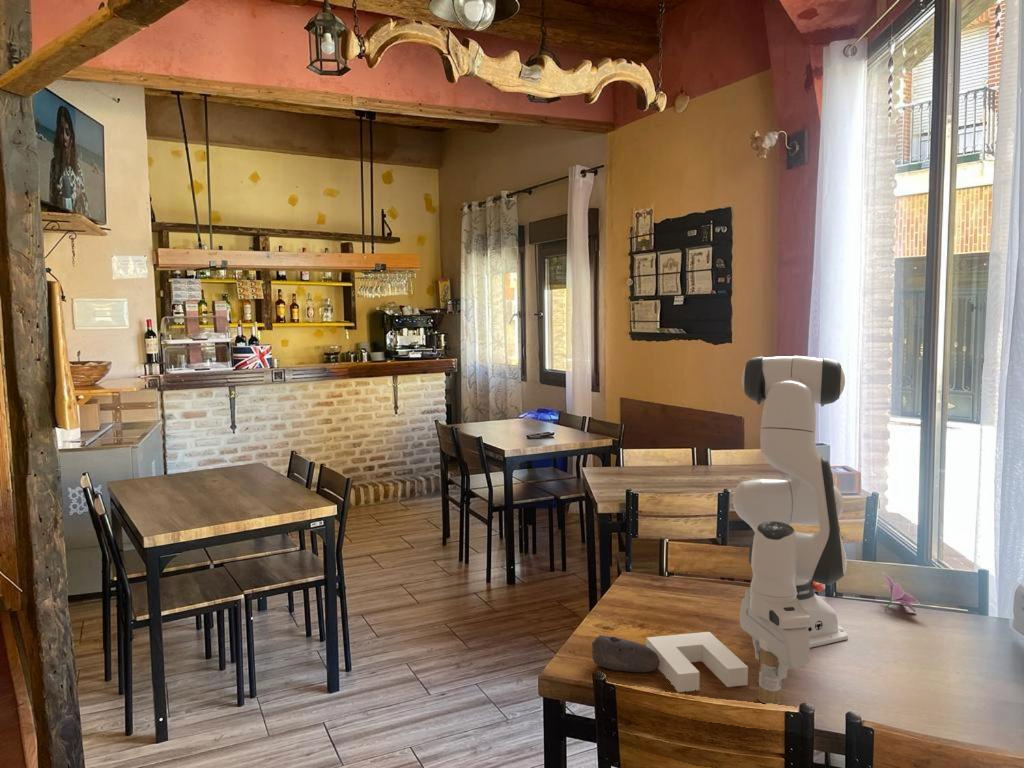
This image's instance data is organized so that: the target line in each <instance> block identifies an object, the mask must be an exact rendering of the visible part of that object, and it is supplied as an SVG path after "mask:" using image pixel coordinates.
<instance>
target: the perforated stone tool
mask: <svg viewBox="0 0 1024 768" xmlns="http://www.w3.org/2000/svg"><path fill="white" fill-rule="evenodd" d="M591 645H592V648H591V649H592V651H591V653H592V660H593V662H594V664H595V665H596V666H598V667H601V668H605V669H608V670H613V671H619V672H620V671H621V672H628V673H629V672H632V673H649V672H653V671H655V670H657V669H658V666H659V663H660V661H659V658H658V655H657V654H656V653H655V652H654V651H653V650H652V649H650V648H648V647H646V645H644V644H641V643H639V642H636V641H633V640H629V639H625V638H620V637H616V636H609V635H608V636H607V635H601V634H600V635H599V636H597V637H596V638H595V640H594V641H593V642H592V643H591Z"/></svg>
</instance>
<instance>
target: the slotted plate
mask: <svg viewBox="0 0 1024 768" xmlns="http://www.w3.org/2000/svg"><path fill="white" fill-rule="evenodd" d="M645 639H646V640H645V646H646V647H648V648H650V649H652V650H653V651H654V652H655V653H656V654H657V655H658V658H659V661H660V663H659V666H658V668H657V669H658V671H659V672H661V674H662V673H663V674H664V675H665V676H666V677H665V676H664V675H663V674H662V675H663V676H664V677H665V678H666V680H667V679H668V680H669V681H670V682H671V683H670V682H669V681H668V680H667V681H668V682H669V683H670V685H671V686H672V685H673V686H674V687H675V688H674V687H673V686H672V687H673V688H674V689H675V691H677V693H684V692H685V691H686V692H696V691H700V671H699V670H698V669H697V668H696V667H695V665H693V663H696V662H702V663H703V664H704V665H705V666H706V667H707V668H708V669H709V670H710V671H711V672H712V673H713V674H714V675H715V677H716V678H718V679H719V680H720V681H721V682H722V683H723V684H724V685H725V686H726V687H727V688H732V687H733V688H734V687H740V686H749V685H748V684H749V682H748V681H749V679H748V678H749V666H748V665H746V664H745V663H744V662H743V661H742V660H741V659H740V658H739V657H738V656H737V655H736V654H734V653H733V651H731V650H730V649H729V648H728V647H727V646H726V645H724V643H722V642H721V641H720V640H719V639H718V638H717V637H716V636H715V635H714V634H712V632H710V631H702V632H692V633H691V632H690V633H680V634H669V635H658V636H657V635H656V636H648V637H646V638H645ZM695 690H696V691H695Z"/></svg>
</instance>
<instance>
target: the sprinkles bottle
mask: <svg viewBox="0 0 1024 768" xmlns="http://www.w3.org/2000/svg"><path fill="white" fill-rule="evenodd" d="M779 664H780V663H779V662H778V658H777V657H776V656H775V655H774V654H773V653H771V652H770V651H769V650H768V648H767V642H766V641H765V640H763V639H762V638H760V661H759V671H758V672H759V673H758V697H757V698H758V701H759V702H760V703H761V702H763V703H773V704H779V705H781V703H782V699H781V695H782V694H781V691H782V680H783V679H780V678H778V677H777V676H776V675H775V672H776V671H775V667H779ZM763 703H762V704H763Z"/></svg>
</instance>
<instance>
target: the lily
mask: <svg viewBox="0 0 1024 768" xmlns="http://www.w3.org/2000/svg"><path fill="white" fill-rule="evenodd" d="M881 573H882V575H883V576H884V577H885V579H886V580H887V582H888V584H883V585H882V586H883V587H884V588H885V589H886V590H888V591H889V592H891V599H890V601H889V602H888V603H887V605H886V607H885V609H884V611H887V610H888V607H889V606H890V604H891V603H892V602H893V601H896V602H899V604H900V605H901V606H904V605H906V606H907V607H908V608H909V609H910V610H911V611H912V610H913V611H914V612H916V613H917V611H916V610H915V608H914V607H913V605H912V604H915V605H921V602H920V601H919V600H917V598H915V597H914V596H913V595H911V594H910V593H908V592H907V591H905V590H904V589H903V588H902V586H901V584H900V583H898V582H896V583H895V581H894V580H893V579H892V577H890V576H889V575H888V574H887V573H885V572H884V571H881ZM913 611H912V612H913ZM914 612H913V613H914Z"/></svg>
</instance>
